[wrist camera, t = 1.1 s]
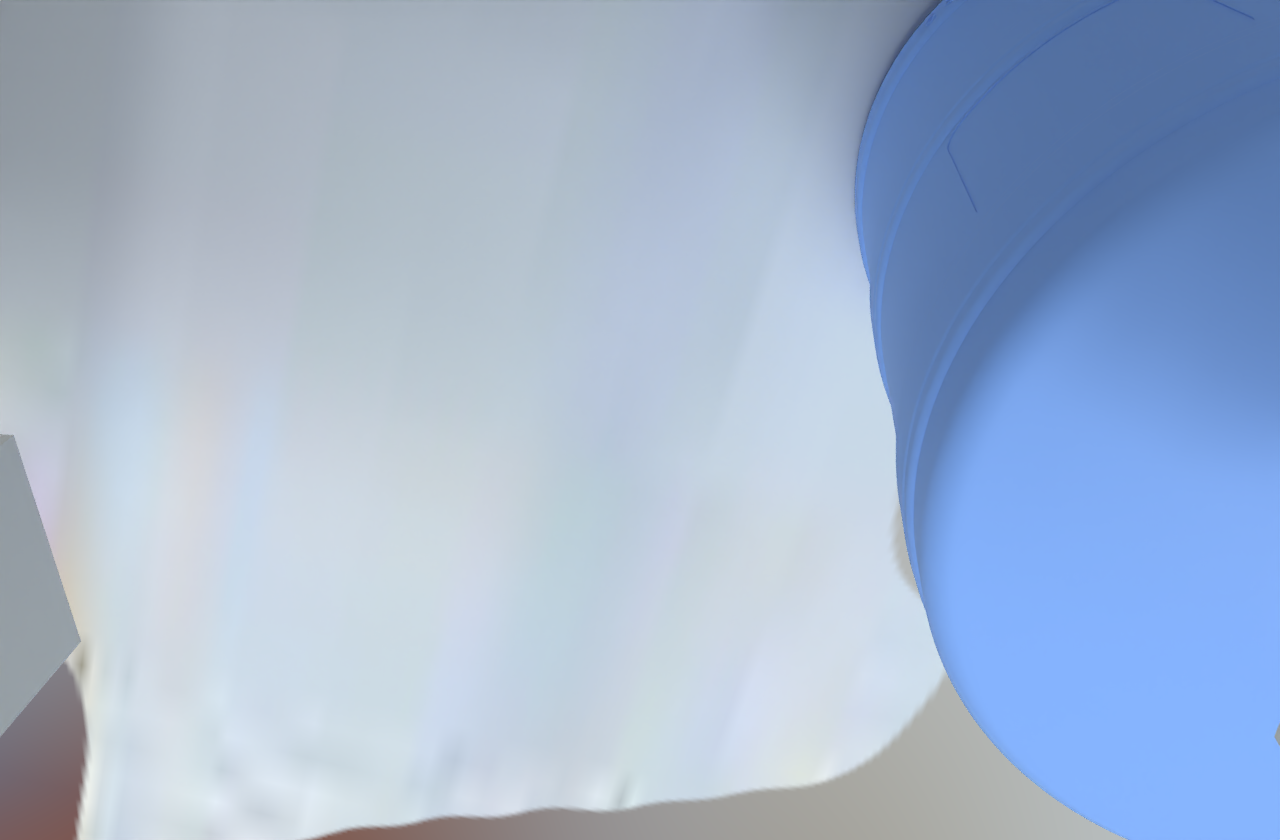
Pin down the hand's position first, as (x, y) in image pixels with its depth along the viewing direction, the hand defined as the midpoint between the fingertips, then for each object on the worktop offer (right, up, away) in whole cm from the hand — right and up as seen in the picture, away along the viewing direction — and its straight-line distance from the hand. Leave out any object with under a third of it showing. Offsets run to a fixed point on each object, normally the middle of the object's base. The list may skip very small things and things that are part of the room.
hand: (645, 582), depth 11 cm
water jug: (+15, +10, +24) cm, 30 cm away
